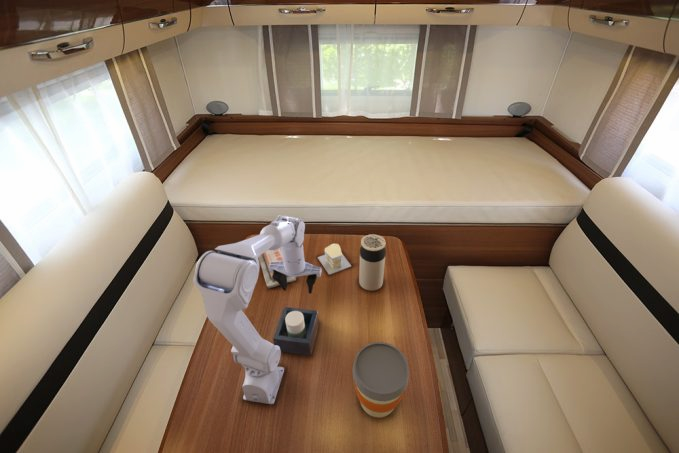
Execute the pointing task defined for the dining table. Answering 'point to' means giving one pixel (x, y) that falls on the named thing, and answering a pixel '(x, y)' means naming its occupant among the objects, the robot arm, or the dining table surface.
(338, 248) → the stacked layers on plate
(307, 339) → the open box
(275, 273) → the robot arm
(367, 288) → the travel mug
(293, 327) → the paper roll
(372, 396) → the reusable coffee cup
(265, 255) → the packaged product
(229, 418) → the dining table surface
